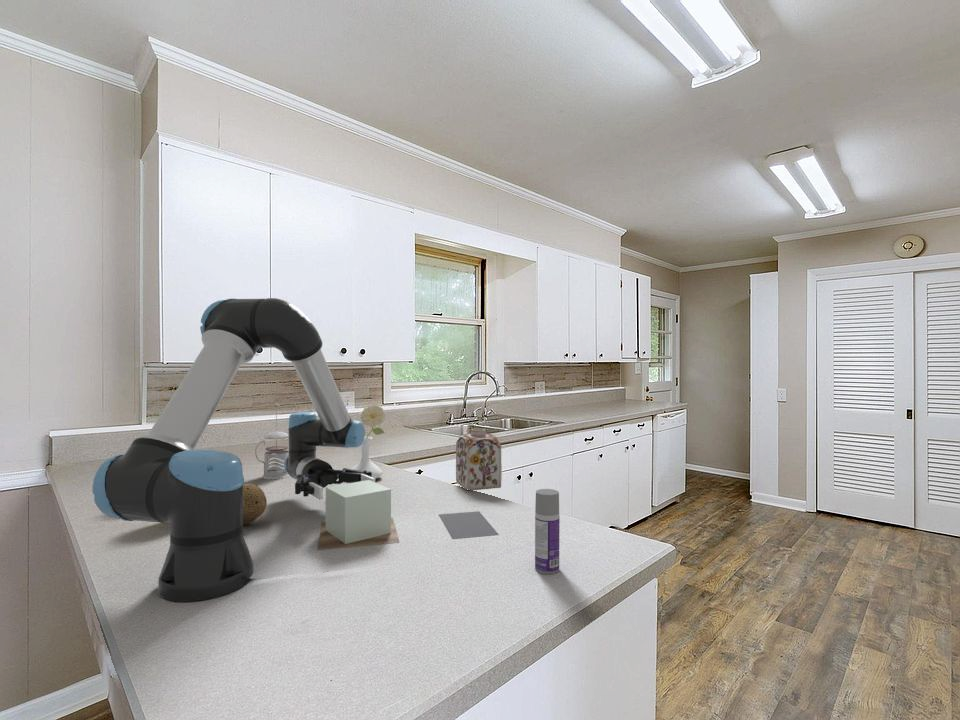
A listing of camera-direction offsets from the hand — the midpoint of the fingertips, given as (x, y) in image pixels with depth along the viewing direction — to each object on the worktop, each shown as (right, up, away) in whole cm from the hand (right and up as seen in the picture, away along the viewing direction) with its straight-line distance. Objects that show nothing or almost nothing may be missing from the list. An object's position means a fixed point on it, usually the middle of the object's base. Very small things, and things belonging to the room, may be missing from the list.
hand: (348, 488), depth 122 cm
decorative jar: (+31, -9, +39) cm, 51 cm away
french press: (-39, -9, +51) cm, 65 cm away
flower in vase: (-6, -9, +47) cm, 48 cm away
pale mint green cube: (+4, -8, -6) cm, 11 cm away
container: (+45, -10, -24) cm, 52 cm away
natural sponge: (-25, -9, +1) cm, 27 cm away
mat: (+24, -9, -1) cm, 26 cm away
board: (+4, -9, -6) cm, 12 cm away
